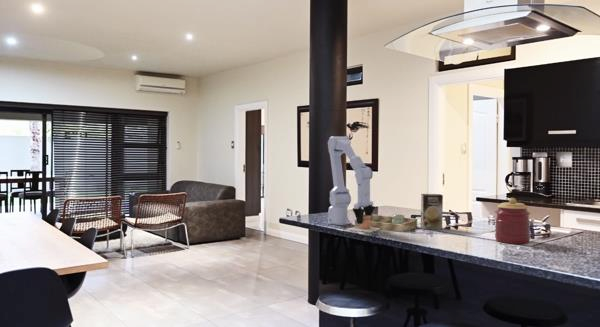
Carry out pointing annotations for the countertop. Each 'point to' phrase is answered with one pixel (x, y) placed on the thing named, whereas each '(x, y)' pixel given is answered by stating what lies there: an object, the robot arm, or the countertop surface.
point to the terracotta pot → (365, 222)
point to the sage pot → (397, 219)
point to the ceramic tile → (363, 229)
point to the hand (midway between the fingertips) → (363, 222)
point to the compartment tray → (386, 223)
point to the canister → (512, 223)
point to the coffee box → (431, 211)
